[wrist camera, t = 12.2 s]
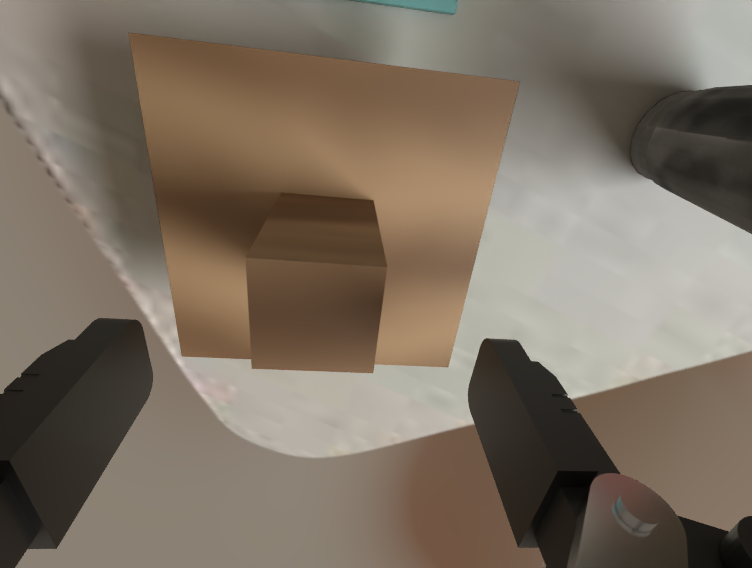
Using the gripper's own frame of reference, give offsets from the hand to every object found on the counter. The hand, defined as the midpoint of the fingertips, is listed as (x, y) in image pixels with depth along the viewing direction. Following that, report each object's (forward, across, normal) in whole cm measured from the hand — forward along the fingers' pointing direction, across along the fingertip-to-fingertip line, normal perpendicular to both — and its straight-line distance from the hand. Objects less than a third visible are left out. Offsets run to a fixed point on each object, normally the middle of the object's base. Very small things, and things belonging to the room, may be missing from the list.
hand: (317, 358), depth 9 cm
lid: (+8, 0, 0) cm, 8 cm away
